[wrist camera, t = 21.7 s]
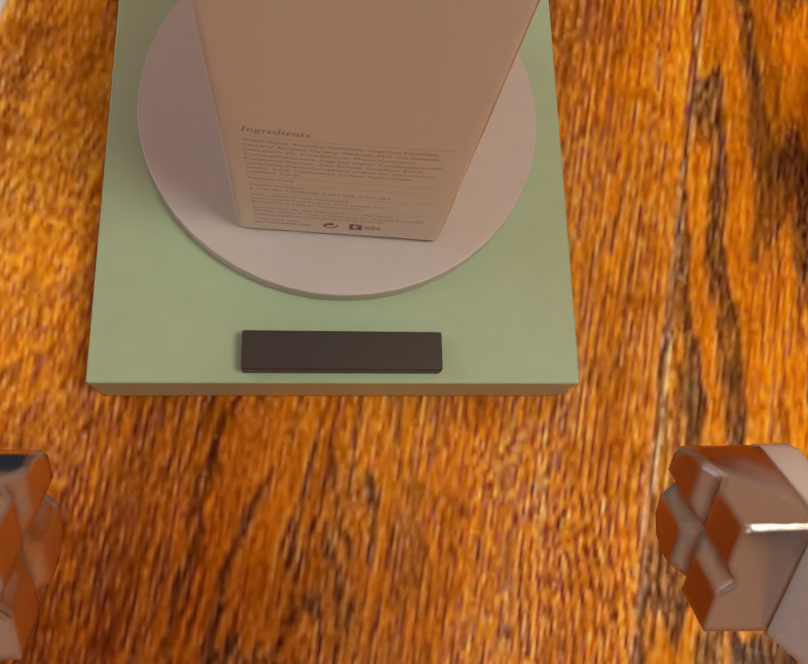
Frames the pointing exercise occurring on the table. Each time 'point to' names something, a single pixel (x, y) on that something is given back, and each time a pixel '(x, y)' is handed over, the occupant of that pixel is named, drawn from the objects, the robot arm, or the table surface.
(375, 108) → the small box
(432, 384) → the scale
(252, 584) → the table surface
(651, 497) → the table surface
